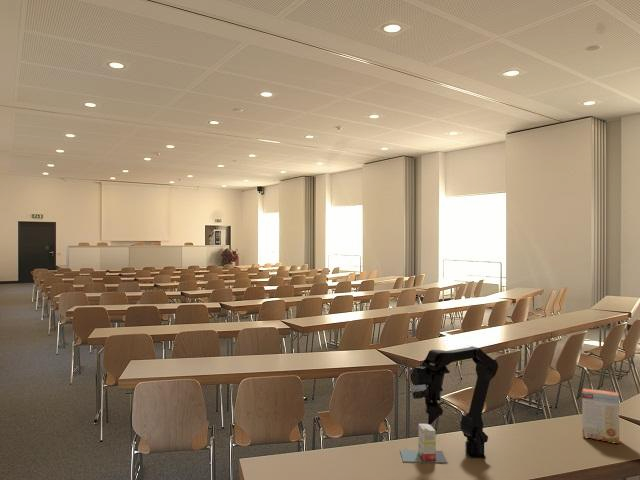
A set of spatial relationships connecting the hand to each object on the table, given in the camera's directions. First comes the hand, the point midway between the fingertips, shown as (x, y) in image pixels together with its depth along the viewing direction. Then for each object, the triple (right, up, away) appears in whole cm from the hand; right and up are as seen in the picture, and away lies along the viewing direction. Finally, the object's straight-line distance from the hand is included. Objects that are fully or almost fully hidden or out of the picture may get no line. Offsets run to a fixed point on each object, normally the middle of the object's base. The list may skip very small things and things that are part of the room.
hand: (428, 417), depth 198 cm
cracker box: (+80, -17, +19) cm, 84 cm away
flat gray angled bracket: (-2, -16, 0) cm, 16 cm away
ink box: (0, -16, +1) cm, 16 cm away
